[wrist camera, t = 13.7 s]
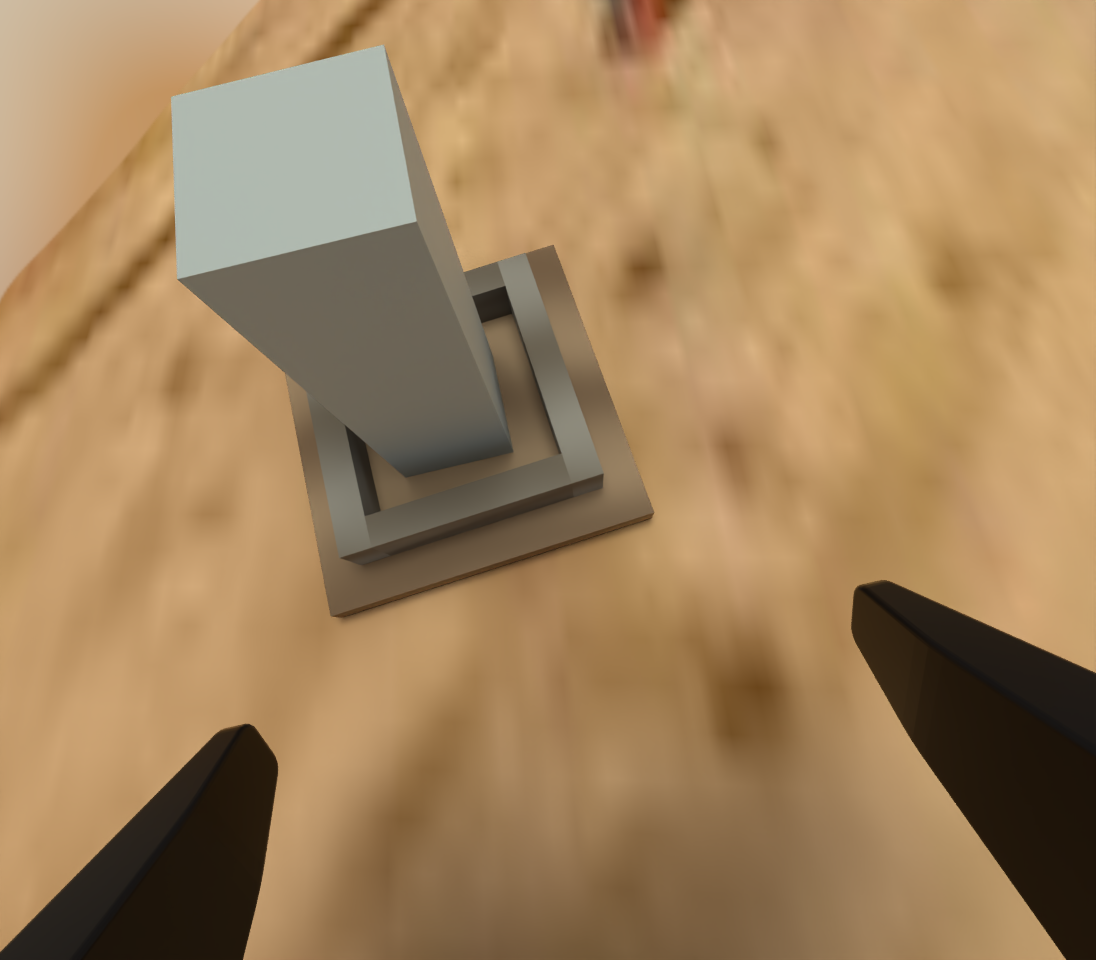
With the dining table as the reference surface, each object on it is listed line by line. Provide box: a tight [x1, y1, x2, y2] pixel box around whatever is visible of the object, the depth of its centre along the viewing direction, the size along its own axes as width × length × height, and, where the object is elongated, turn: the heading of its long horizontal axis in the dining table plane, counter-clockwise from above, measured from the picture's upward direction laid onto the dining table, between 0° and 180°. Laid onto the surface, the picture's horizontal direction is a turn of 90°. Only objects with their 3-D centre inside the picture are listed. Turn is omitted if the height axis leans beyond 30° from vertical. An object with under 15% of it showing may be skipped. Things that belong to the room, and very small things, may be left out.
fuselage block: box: [171, 45, 513, 477], centre depth 17 cm, size 4×4×13 cm
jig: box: [285, 245, 654, 617], centre depth 23 cm, size 13×13×3 cm
